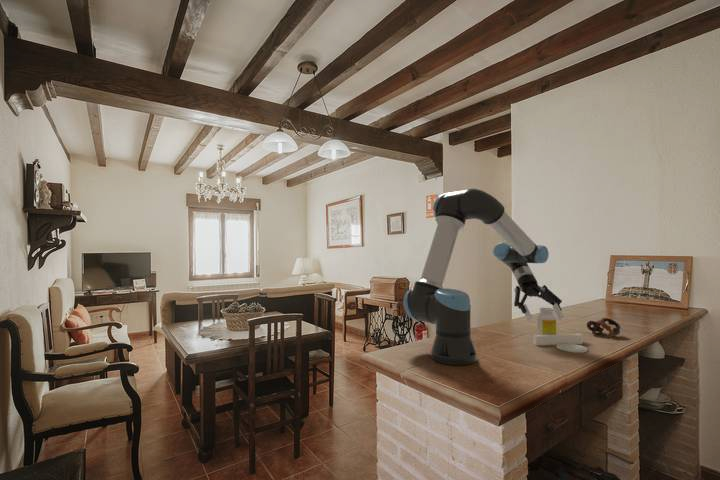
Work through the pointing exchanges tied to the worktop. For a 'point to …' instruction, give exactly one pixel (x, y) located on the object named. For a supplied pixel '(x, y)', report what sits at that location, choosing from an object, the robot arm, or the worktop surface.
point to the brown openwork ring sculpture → (604, 326)
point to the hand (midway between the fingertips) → (546, 318)
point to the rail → (558, 339)
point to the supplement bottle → (546, 322)
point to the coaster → (572, 348)
